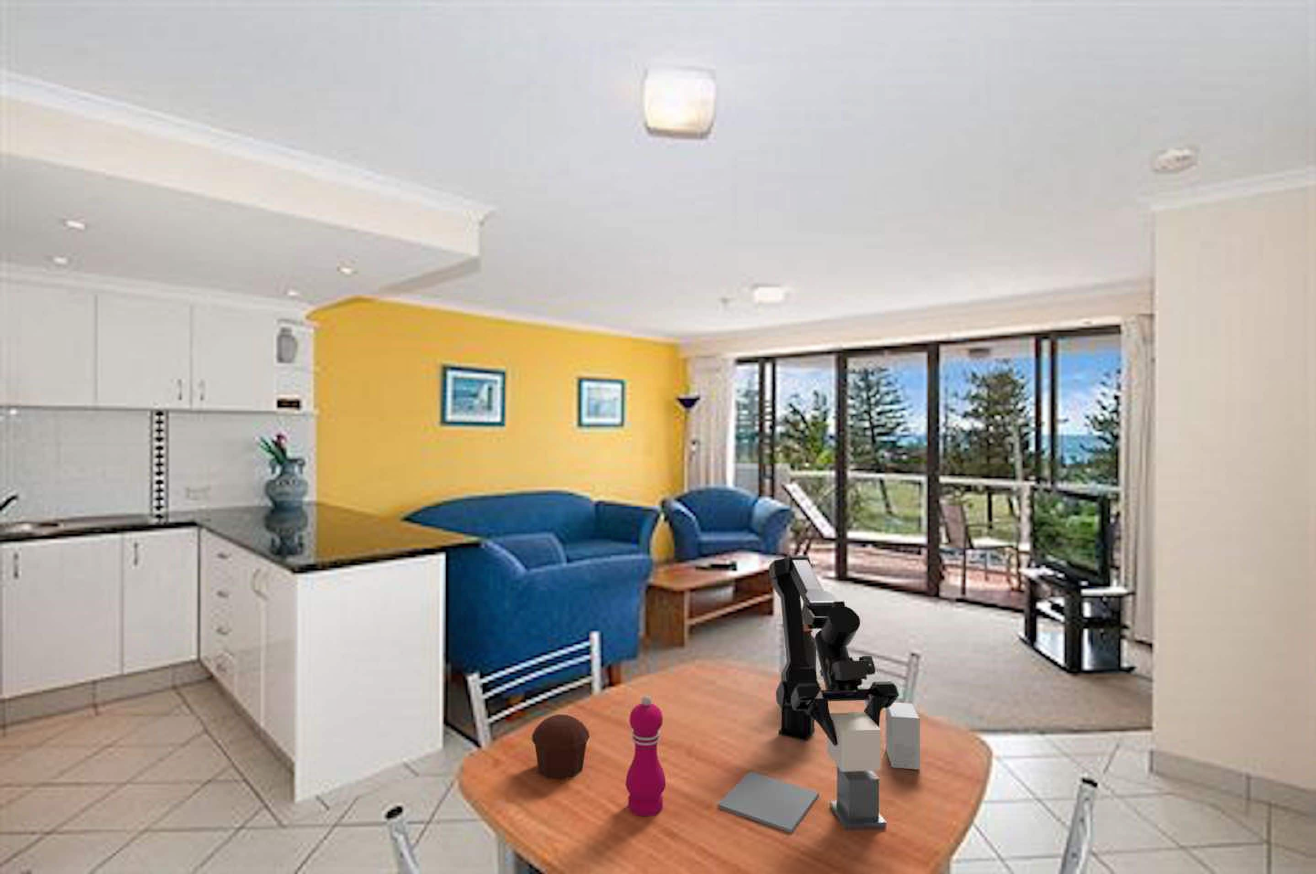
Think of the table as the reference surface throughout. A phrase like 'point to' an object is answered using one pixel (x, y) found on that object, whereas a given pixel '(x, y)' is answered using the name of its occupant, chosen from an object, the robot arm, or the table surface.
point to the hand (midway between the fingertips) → (856, 744)
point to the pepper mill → (645, 761)
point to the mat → (769, 801)
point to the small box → (903, 736)
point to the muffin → (560, 746)
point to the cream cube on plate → (855, 742)
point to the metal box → (858, 800)
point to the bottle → (810, 646)
